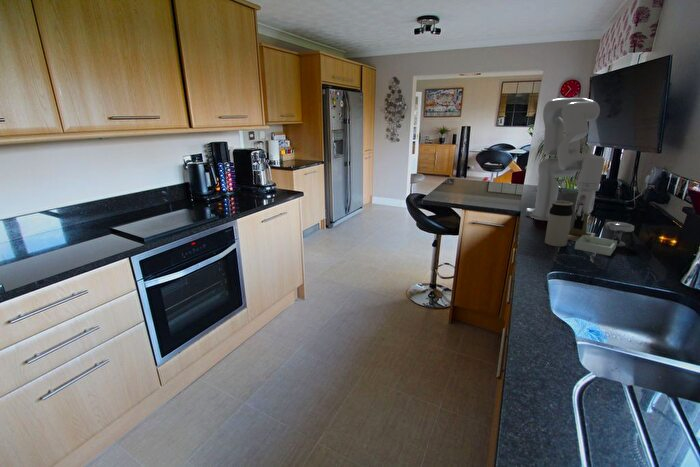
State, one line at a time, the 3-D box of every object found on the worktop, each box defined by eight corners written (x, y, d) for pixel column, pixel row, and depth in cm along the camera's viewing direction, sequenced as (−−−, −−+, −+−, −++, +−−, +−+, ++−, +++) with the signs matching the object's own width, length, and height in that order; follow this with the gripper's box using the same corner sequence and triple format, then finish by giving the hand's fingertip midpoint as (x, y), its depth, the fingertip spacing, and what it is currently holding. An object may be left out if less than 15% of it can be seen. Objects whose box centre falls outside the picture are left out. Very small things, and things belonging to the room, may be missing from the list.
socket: (561, 238, 145) (562, 234, 144) (568, 233, 151) (569, 229, 151) (589, 243, 138) (590, 239, 137) (594, 238, 144) (595, 233, 144)
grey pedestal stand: (600, 244, 136) (604, 224, 134) (604, 239, 142) (608, 220, 140) (627, 249, 130) (632, 228, 128) (631, 243, 136) (636, 223, 134)
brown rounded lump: (581, 230, 147) (586, 207, 144) (589, 235, 142) (594, 210, 138) (567, 230, 148) (571, 207, 144) (574, 235, 142) (579, 211, 139)
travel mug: (569, 247, 134) (577, 204, 129) (548, 246, 136) (555, 204, 130) (562, 241, 142) (569, 200, 136) (541, 240, 143) (548, 200, 138)
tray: (574, 248, 133) (575, 241, 132) (581, 241, 140) (583, 234, 139) (610, 255, 125) (611, 248, 124) (615, 247, 132) (617, 240, 131)
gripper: (593, 190, 130) (584, 234, 136) (602, 184, 141) (593, 224, 147) (571, 188, 135) (563, 230, 141) (582, 182, 146) (574, 221, 152)
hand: (579, 227), depth 144 cm, fingers closed on brown rounded lump, 4 cm apart
